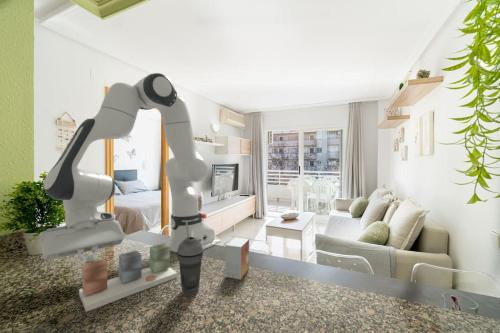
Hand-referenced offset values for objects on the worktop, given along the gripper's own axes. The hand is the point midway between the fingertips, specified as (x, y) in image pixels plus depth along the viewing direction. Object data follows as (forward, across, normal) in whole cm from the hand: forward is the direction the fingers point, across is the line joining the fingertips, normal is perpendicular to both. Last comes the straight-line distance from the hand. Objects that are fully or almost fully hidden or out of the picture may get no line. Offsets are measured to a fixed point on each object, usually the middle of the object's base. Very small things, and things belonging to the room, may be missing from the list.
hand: (89, 263), depth 67 cm
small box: (+22, +37, -11) cm, 44 cm away
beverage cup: (+21, +20, -11) cm, 31 cm away
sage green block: (+8, +18, -1) cm, 20 cm away
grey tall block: (+8, +9, -1) cm, 12 cm away
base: (+10, +9, 0) cm, 14 cm away
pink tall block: (+8, 0, -1) cm, 8 cm away
